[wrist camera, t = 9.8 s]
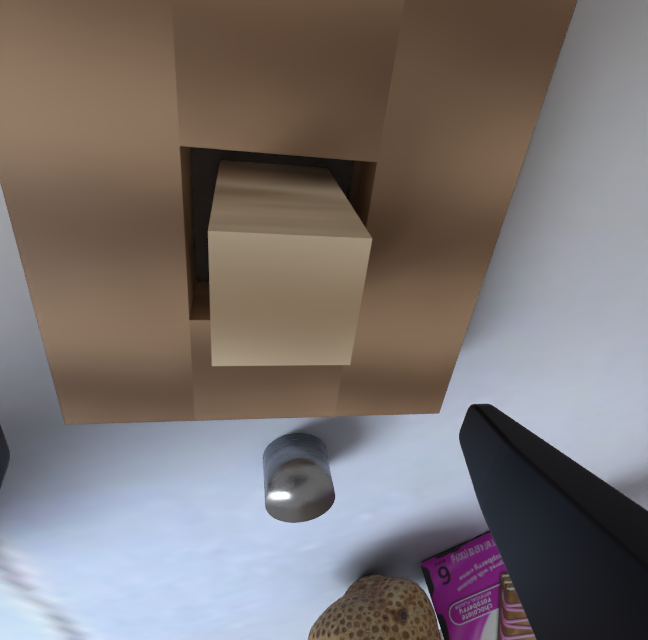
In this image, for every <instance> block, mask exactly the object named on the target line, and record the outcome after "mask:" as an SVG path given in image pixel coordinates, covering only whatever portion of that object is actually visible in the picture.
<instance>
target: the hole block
mask: <svg viewBox="0 0 648 640" xmlns="http://www.w3.org/2000/svg"><path fill="white" fill-rule="evenodd" d="M576 3H577V0H0V183H1V187H2V191H3V194H4V198H5V202H6V206H7V209H8V213H9V217H10V221H11V224H12V228H13V232H14V236H15V239H16V243H17V247H18V251H19V254H20V258H21V262H22V266H23V269H24V273H25V277H26V281H27V284H28V288H29V292H30V296H31V299H32V303H33V307H34V310H35V314H36V318H37V322H38V325H39V329H40V333H41V337H42V340H43V344H44V348H45V352H46V355H47V359H48V363H49V367H50V370H51V374H52V378H53V382H54V385H55V389H56V393H57V397H58V400H59V404H60V408H61V412H62V415H63V419H64V423H65V424H98V423H132V422H165V421H199V420H232V419H266V418H299V417H333V416H367V415H400V414H434V413H439V412H440V409H441V406H442V403H443V400H444V397H445V394H446V391H447V388H448V385H449V382H450V379H451V376H452V373H453V370H454V367H455V364H456V361H457V358H458V355H459V352H460V349H461V346H462V343H463V340H464V337H465V334H466V331H467V328H468V325H469V322H470V319H471V316H472V313H473V310H474V307H475V304H476V301H477V298H478V295H479V292H480V289H481V287H482V284H483V281H484V278H485V275H486V272H487V269H488V266H489V263H490V260H491V257H492V254H493V251H494V248H495V245H496V242H497V239H498V236H499V233H500V230H501V227H502V224H503V221H504V218H505V215H506V212H507V209H508V206H509V203H510V200H511V197H512V194H513V191H514V188H515V185H516V182H517V179H518V176H519V173H520V170H521V167H522V164H523V161H524V158H525V155H526V152H527V149H528V146H529V143H530V140H531V137H532V134H533V131H534V128H535V125H536V122H537V119H538V116H539V113H540V111H541V108H542V105H543V102H544V99H545V96H546V93H547V90H548V87H549V84H550V81H551V78H552V75H553V72H554V69H555V66H556V63H557V60H558V57H559V54H560V51H561V48H562V45H563V42H564V39H565V36H566V33H567V30H568V27H569V24H570V21H571V18H572V15H573V12H574V9H575V6H576ZM190 147H198V148H210V149H222V150H234V151H246V152H259V153H271V154H283V155H295V156H307V157H319V158H331V159H343V160H354V167H353V174H352V181H351V188H350V195H349V202H350V204H351V206H352V207H353V209H354V210H355V212H356V213H357V215H358V217H359V218H360V220H361V221H362V223H363V225H364V226H365V228H366V229H367V231H368V232H369V234H370V236H371V237H372V244H371V249H370V255H369V261H368V266H367V272H366V278H365V283H364V289H363V295H362V300H361V306H360V312H359V317H358V323H357V329H356V334H355V340H354V346H353V351H352V357H351V363H350V365H286V366H212V356H211V322H210V287H209V282H196V264H195V241H194V218H193V194H192V171H191V148H190Z"/></svg>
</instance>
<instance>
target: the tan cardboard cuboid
mask: <svg viewBox="0 0 648 640" xmlns="http://www.w3.org/2000/svg"><path fill="white" fill-rule="evenodd" d="M371 244H372V237H371V236H370V234H369V232H368V231H367V229H366V228H365V226H364V225H363V223H362V221H361V220H360V218H359V217H358V215H357V213H356V212H355V210H354V209H353V207H352V206H351V204H350V202H349V201H348V199H347V198H346V196H345V195H344V193H343V191H342V190H341V188H340V187H339V185H338V184H337V182H336V180H335V179H334V177H333V176H332V174H331V173H330V171H329V169H328V168H319V167H306V166H292V165H279V164H266V163H253V162H240V161H226V160H220V163H219V169H218V175H217V181H216V187H215V192H214V198H213V204H212V210H211V216H210V221H209V227H208V253H209V287H210V322H211V356H212V366H286V365H350V363H351V357H352V351H353V346H354V340H355V334H356V329H357V323H358V317H359V312H360V306H361V300H362V295H363V289H364V283H365V278H366V272H367V266H368V261H369V255H370V249H371Z"/></svg>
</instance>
